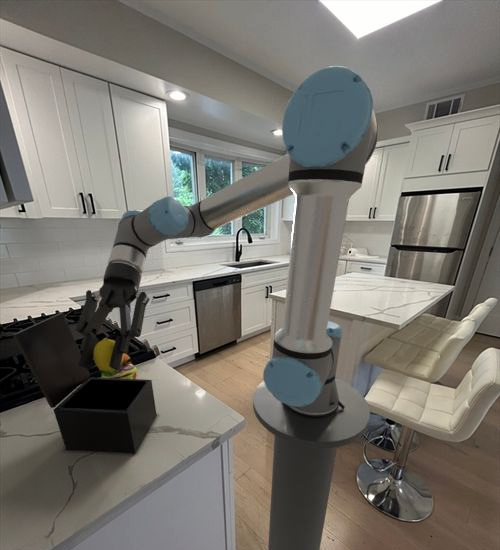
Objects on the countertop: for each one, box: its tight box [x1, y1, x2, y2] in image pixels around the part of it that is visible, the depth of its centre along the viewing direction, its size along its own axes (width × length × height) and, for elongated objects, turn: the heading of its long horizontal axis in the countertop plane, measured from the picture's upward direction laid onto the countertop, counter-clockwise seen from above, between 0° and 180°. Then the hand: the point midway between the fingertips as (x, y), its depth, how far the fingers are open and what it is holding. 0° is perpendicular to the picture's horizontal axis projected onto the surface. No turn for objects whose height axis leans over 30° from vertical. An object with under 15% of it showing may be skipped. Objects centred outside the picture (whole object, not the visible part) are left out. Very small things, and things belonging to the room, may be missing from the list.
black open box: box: [53, 376, 158, 454], centre depth 64 cm, size 16×13×11 cm
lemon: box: [93, 337, 123, 373], centre depth 59 cm, size 6×6×8 cm
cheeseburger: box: [98, 353, 138, 379], centre depth 86 cm, size 10×11×10 cm
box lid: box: [12, 312, 91, 409], centre depth 59 cm, size 16×13×1 cm
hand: (99, 367), depth 55 cm, fingers closed on lemon, 5 cm apart
